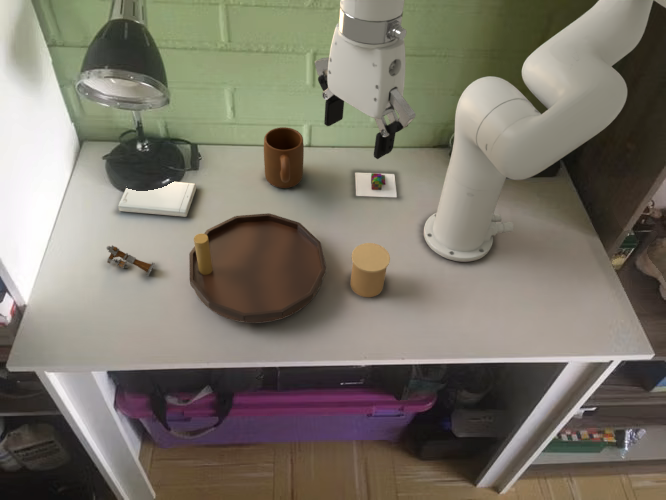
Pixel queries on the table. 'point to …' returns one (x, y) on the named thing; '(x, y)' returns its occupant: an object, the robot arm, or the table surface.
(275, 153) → the mug
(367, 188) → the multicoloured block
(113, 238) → the table surface
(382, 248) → the tan cylinder
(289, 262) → the tray
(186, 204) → the hard drive
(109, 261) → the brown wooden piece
